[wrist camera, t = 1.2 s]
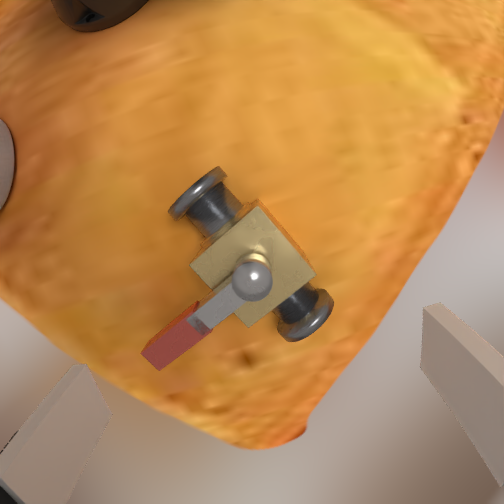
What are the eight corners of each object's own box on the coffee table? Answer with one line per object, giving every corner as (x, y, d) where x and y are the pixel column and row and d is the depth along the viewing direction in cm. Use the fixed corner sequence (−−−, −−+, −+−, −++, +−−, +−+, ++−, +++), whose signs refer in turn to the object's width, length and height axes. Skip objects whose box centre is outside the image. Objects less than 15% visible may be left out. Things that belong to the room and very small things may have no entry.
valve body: (173, 211, 35) (151, 222, 27) (227, 163, 34) (217, 160, 26) (278, 325, 38) (282, 361, 30) (330, 285, 37) (348, 313, 29)
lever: (254, 245, 27) (254, 254, 24) (278, 273, 28) (281, 284, 25) (146, 336, 30) (136, 352, 27) (169, 359, 30) (161, 375, 27)
